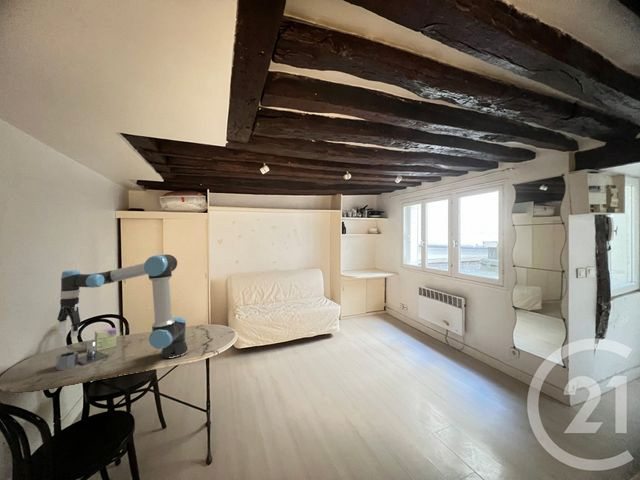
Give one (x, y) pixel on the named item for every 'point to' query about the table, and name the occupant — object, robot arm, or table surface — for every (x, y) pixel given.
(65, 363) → the hub
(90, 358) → the shaft stand
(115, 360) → the table surface
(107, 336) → the box
